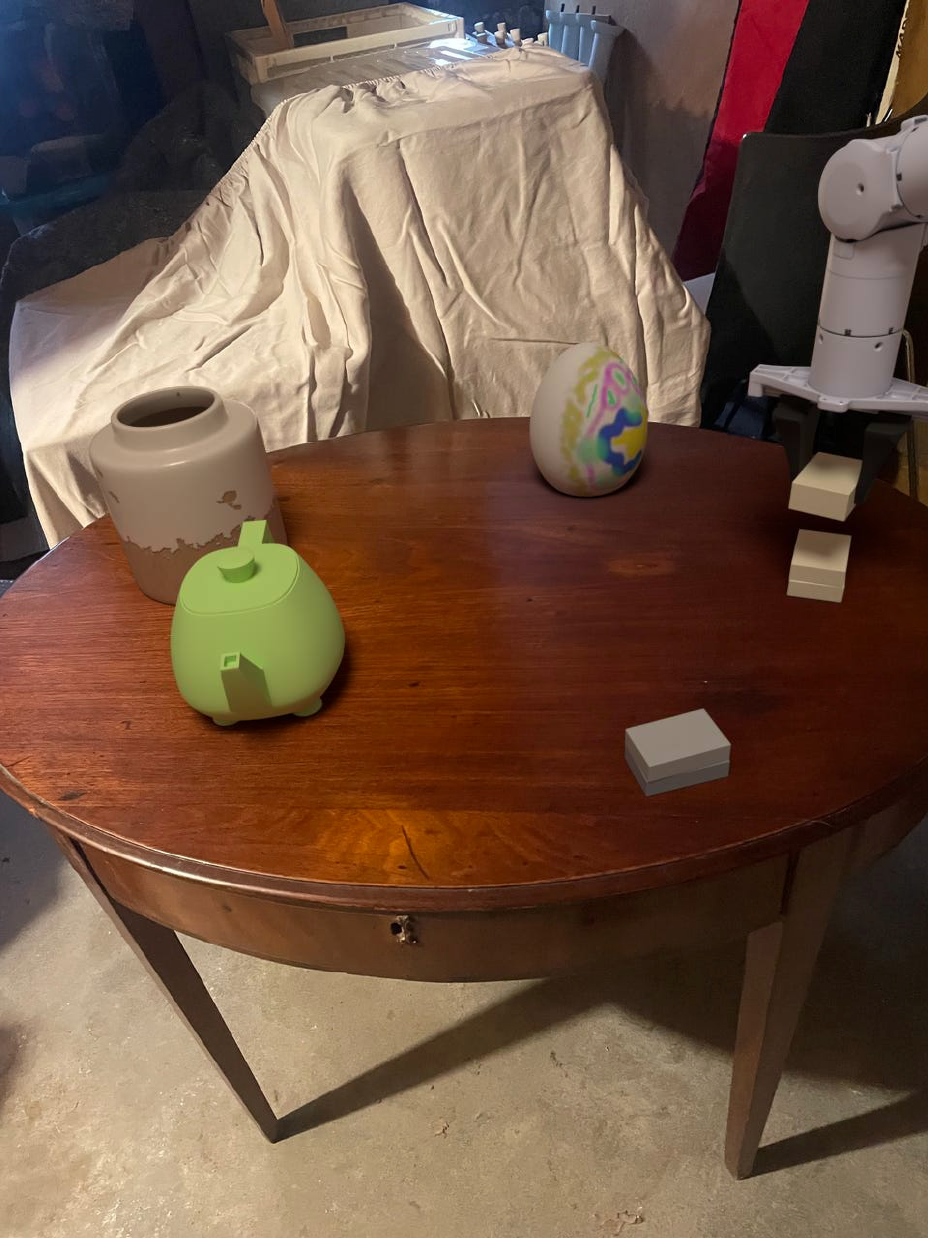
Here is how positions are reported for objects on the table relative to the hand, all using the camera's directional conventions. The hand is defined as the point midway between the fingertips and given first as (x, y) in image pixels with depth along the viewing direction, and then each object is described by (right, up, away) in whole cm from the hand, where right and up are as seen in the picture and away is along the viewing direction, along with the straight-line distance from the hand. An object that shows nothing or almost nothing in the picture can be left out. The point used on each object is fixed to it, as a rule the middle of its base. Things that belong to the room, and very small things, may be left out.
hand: (829, 491), depth 71 cm
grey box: (-15, -21, -10) cm, 27 cm away
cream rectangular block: (0, -1, 0) cm, 1 cm away
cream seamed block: (+1, -7, +6) cm, 9 cm away
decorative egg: (-16, +5, +25) cm, 30 cm away
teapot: (-45, -16, +1) cm, 48 cm away
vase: (-55, -5, +17) cm, 58 cm away
